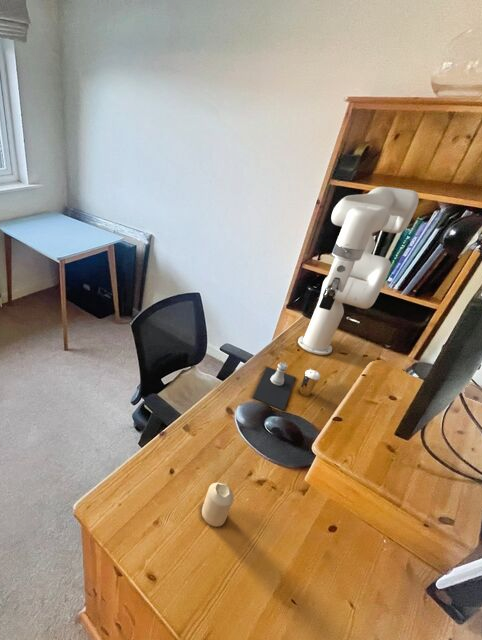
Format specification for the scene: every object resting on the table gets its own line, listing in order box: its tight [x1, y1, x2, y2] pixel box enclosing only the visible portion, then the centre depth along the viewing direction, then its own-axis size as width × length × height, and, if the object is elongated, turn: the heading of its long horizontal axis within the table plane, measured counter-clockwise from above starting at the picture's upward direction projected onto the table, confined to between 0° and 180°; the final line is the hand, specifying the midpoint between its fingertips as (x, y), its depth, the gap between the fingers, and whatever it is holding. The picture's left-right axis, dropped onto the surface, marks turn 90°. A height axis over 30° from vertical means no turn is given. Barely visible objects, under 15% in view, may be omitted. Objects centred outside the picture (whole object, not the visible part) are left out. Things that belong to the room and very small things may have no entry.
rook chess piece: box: [270, 361, 288, 386], centre depth 120 cm, size 4×4×8 cm
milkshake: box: [299, 363, 322, 397], centre depth 117 cm, size 4×5×10 cm
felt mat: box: [252, 366, 296, 412], centre depth 120 cm, size 20×10×1 cm, turn 146°
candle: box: [201, 482, 235, 528], centre depth 79 cm, size 6×6×10 cm
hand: (326, 302), depth 111 cm, fingers open, 9 cm apart
